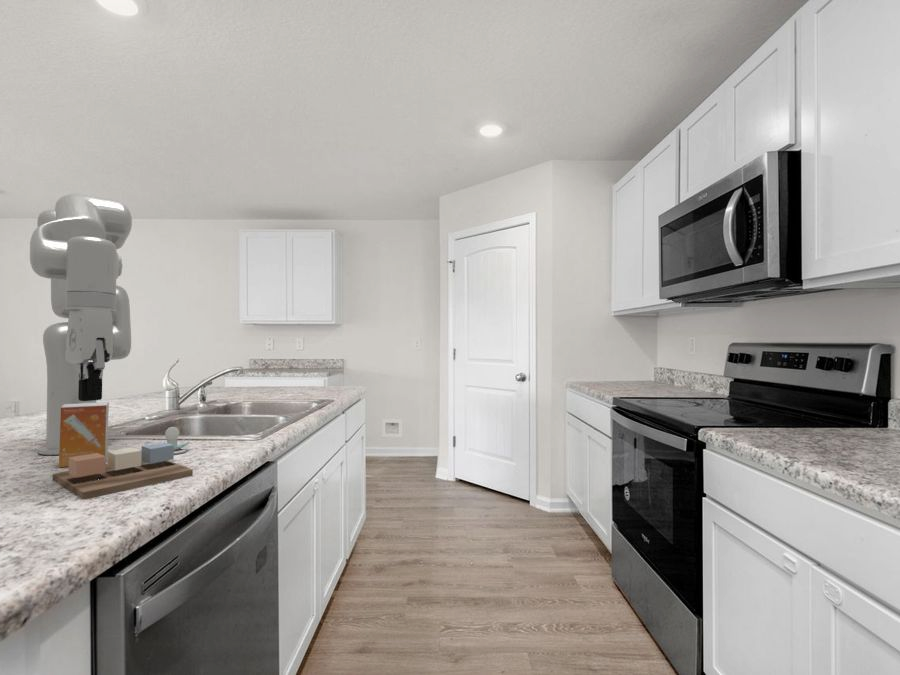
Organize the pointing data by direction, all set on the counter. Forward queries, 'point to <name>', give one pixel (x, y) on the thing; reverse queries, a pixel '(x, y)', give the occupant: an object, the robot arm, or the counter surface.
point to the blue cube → (157, 452)
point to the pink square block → (86, 465)
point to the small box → (83, 430)
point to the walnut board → (121, 478)
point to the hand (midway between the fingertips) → (90, 400)
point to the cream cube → (123, 458)
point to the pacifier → (174, 440)
